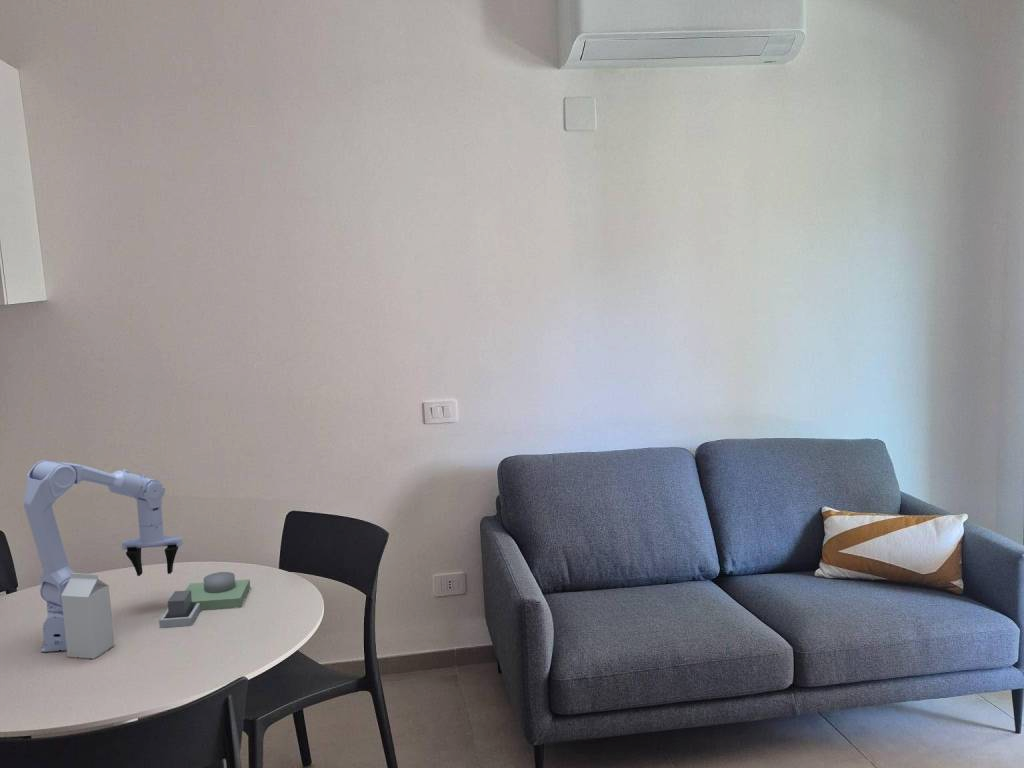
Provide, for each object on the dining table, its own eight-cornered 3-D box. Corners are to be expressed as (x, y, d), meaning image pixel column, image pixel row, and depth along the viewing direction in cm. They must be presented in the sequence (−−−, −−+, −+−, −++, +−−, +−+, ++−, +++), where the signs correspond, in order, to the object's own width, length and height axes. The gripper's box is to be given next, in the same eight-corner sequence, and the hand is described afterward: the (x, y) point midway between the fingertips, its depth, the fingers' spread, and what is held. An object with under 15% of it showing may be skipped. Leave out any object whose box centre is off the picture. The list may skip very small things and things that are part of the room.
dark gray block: (185, 623, 214) (184, 600, 213) (169, 624, 213) (167, 601, 212) (192, 612, 221) (190, 590, 220) (176, 613, 220) (174, 591, 219)
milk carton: (94, 659, 194) (86, 580, 192) (67, 657, 196) (59, 578, 193) (114, 646, 201) (107, 569, 199) (88, 644, 203) (81, 567, 200)
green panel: (233, 622, 213) (231, 601, 212) (159, 627, 211) (158, 606, 210) (250, 587, 237) (248, 569, 236) (184, 592, 234) (182, 573, 234)
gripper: (183, 517, 226) (187, 566, 228) (126, 520, 224) (131, 570, 226) (176, 525, 219) (180, 575, 221) (117, 528, 217) (122, 579, 219)
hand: (155, 573), depth 223 cm, fingers open, 7 cm apart
